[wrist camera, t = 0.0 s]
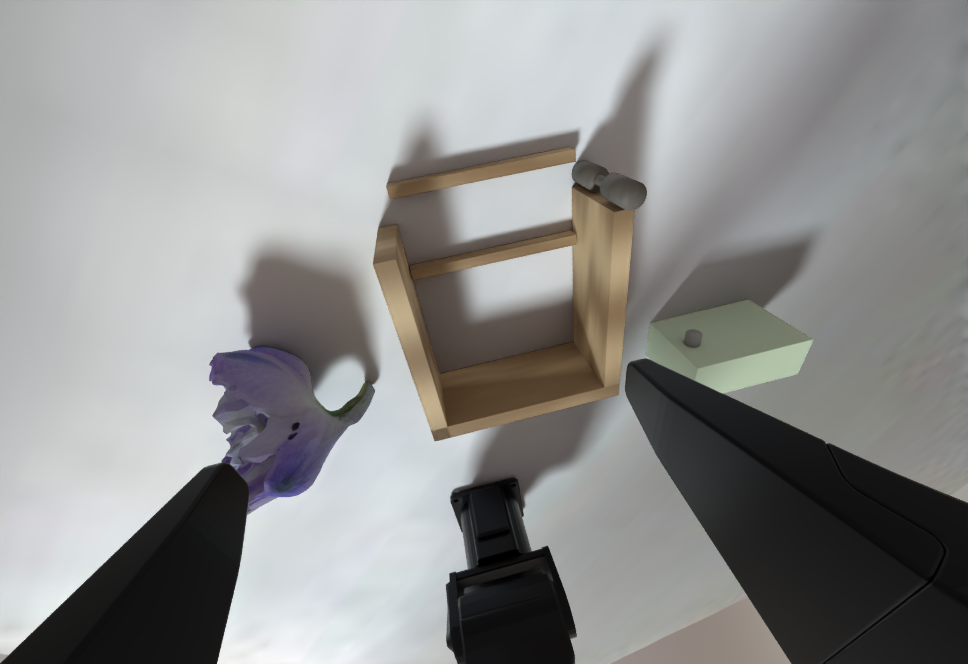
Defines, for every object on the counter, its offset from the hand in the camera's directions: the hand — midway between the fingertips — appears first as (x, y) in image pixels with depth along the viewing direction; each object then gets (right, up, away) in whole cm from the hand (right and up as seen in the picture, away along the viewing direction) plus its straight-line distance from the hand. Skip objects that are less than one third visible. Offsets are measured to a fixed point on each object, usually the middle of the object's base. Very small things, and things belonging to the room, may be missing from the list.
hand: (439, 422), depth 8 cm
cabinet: (+2, +5, +15) cm, 16 cm away
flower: (-11, -1, +16) cm, 20 cm away
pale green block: (+17, +2, +21) cm, 27 cm away
